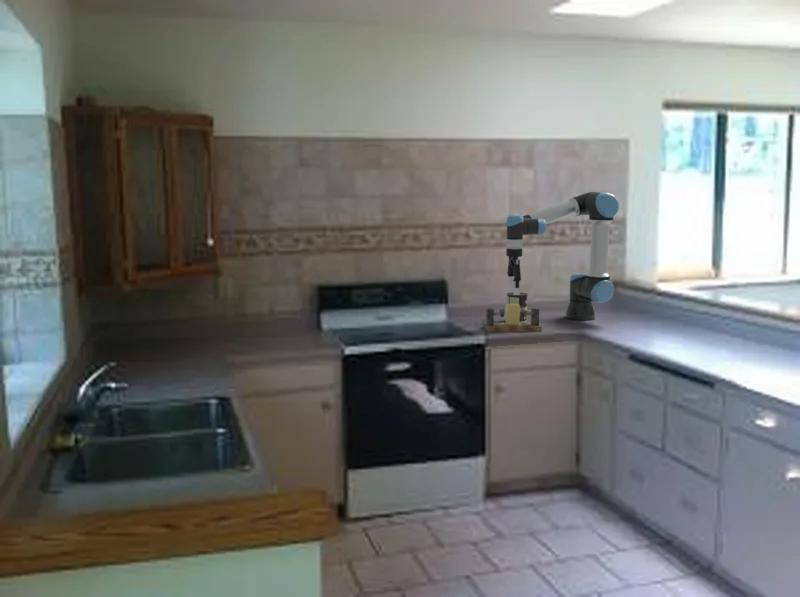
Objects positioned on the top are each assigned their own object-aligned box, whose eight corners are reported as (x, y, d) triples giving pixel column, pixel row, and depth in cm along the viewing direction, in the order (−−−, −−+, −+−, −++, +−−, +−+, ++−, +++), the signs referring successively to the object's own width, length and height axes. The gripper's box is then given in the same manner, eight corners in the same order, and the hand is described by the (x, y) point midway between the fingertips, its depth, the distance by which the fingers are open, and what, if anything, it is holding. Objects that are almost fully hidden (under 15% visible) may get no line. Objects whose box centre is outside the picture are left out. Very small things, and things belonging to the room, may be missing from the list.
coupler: (517, 323, 387) (518, 303, 386) (519, 325, 383) (520, 305, 381) (505, 324, 387) (505, 303, 385) (507, 325, 383) (507, 305, 381)
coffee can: (525, 319, 409) (526, 292, 407) (528, 323, 399) (528, 295, 397) (505, 319, 410) (505, 292, 407) (507, 323, 399) (508, 295, 397)
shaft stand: (536, 326, 392) (536, 306, 390) (541, 331, 381) (542, 310, 379) (483, 326, 390) (484, 306, 388) (487, 331, 379) (487, 310, 377)
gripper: (501, 245, 391) (501, 288, 394) (511, 251, 366) (511, 296, 370) (516, 245, 391) (516, 287, 395) (527, 250, 367) (527, 296, 370)
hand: (513, 292), depth 382 cm, fingers open, 13 cm apart
